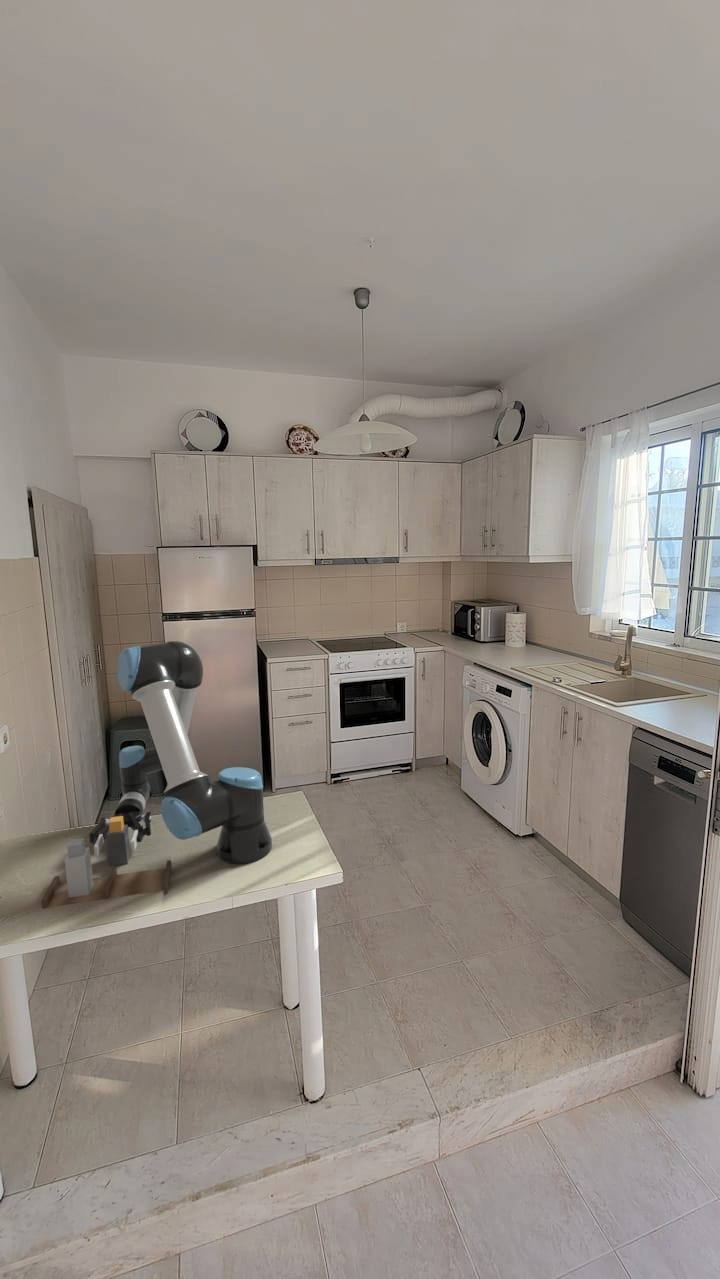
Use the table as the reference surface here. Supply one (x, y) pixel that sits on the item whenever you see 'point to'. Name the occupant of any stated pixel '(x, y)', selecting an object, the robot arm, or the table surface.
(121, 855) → the charcoal plug
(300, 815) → the table surface
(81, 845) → the grey plug
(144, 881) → the brown wooden tray
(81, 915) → the table surface
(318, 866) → the table surface
